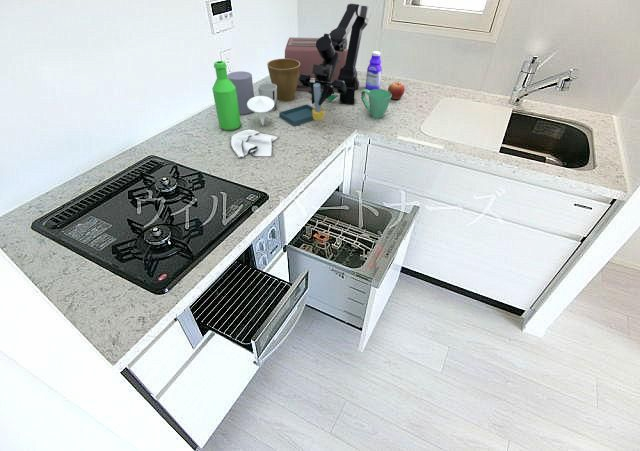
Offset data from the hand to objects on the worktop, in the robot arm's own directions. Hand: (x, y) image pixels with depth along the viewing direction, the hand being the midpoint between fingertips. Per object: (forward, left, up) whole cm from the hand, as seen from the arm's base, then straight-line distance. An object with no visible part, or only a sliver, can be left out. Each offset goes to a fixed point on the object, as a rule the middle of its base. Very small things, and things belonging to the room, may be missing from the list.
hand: (315, 104), depth 131 cm
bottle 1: (+35, +1, -11) cm, 37 cm away
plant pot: (+18, -32, -11) cm, 38 cm away
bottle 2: (-24, -52, -11) cm, 58 cm away
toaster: (+5, -53, -11) cm, 54 cm away
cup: (+23, -19, -11) cm, 32 cm away
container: (+34, -16, -11) cm, 39 cm away
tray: (+8, -12, -11) cm, 18 cm away
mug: (-24, -20, -11) cm, 33 cm away
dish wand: (-1, -3, -6) cm, 7 cm away
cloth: (+22, +15, -11) cm, 29 cm away
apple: (-35, -41, -11) cm, 55 cm away
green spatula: (0, -35, -11) cm, 36 cm away
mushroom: (+22, -2, -11) cm, 25 cm away
